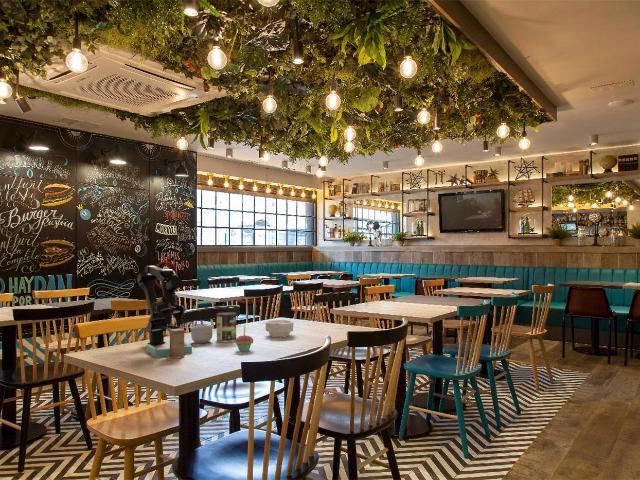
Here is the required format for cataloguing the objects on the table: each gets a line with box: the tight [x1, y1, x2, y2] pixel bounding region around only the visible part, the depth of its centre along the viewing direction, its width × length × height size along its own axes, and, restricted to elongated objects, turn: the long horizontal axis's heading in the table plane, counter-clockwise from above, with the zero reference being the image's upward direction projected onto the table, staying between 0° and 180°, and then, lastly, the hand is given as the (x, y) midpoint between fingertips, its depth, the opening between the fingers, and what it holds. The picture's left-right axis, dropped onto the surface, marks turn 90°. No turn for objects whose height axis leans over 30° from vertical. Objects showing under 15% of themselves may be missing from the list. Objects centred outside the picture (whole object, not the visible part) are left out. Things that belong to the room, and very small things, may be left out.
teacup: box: [190, 324, 213, 344], centre depth 245 cm, size 14×11×8 cm
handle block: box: [169, 328, 185, 360], centre depth 211 cm, size 5×5×12 cm
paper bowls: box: [265, 319, 294, 338], centre depth 260 cm, size 15×15×8 cm
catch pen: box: [146, 341, 193, 358], centre depth 221 cm, size 16×16×3 cm
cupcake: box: [234, 324, 254, 353], centre depth 223 cm, size 9×8×12 cm
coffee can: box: [216, 311, 238, 343], centre depth 248 cm, size 10×10×14 cm
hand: (174, 325), depth 225 cm, fingers open, 9 cm apart
